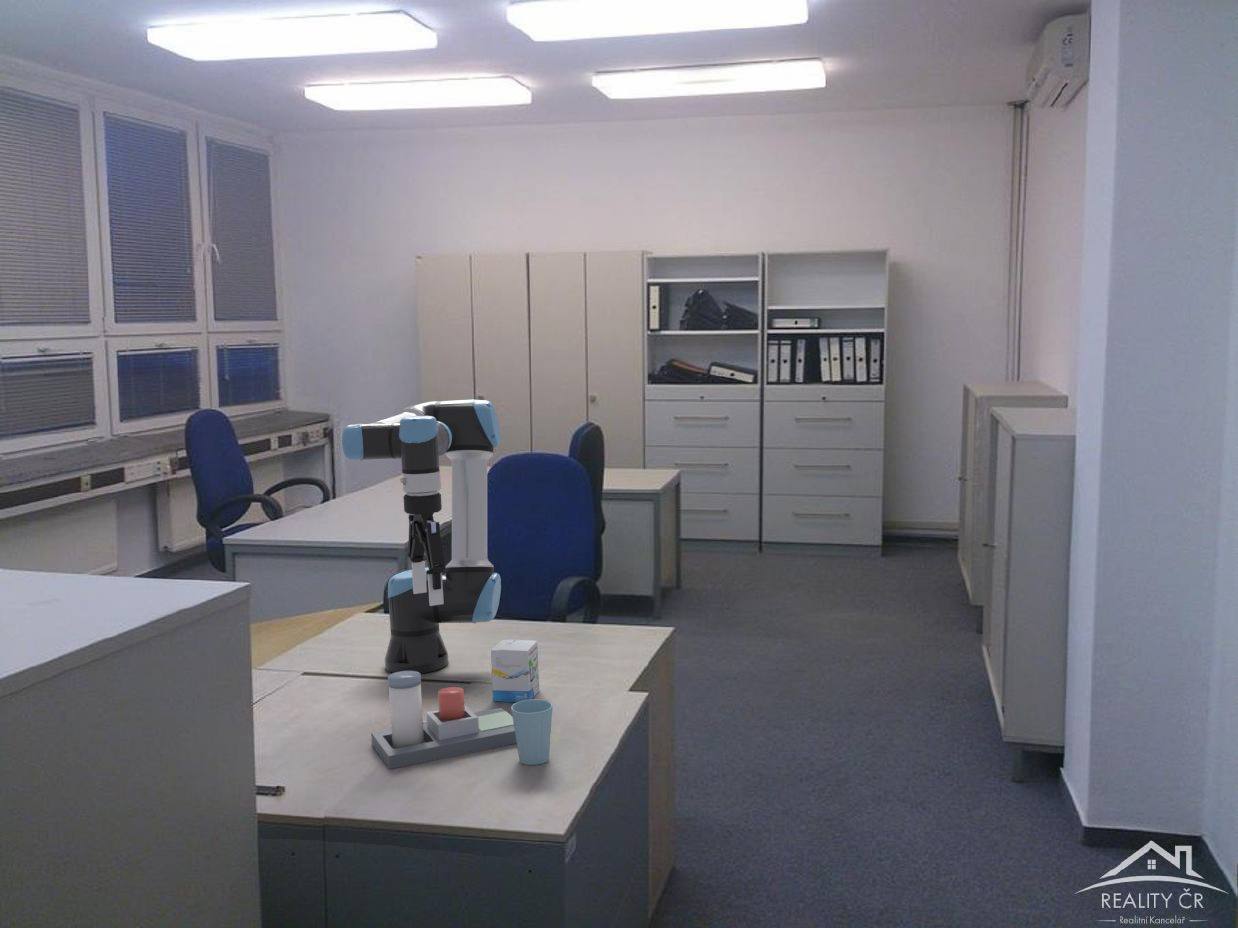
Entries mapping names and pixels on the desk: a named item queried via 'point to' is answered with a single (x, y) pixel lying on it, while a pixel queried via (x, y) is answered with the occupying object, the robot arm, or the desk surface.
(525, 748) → the cup
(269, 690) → the desk surface
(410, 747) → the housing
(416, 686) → the cartridge
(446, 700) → the plunger
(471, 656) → the desk surface
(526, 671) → the ink box
